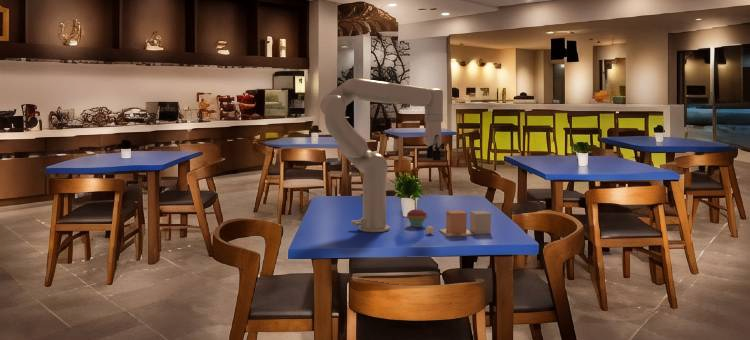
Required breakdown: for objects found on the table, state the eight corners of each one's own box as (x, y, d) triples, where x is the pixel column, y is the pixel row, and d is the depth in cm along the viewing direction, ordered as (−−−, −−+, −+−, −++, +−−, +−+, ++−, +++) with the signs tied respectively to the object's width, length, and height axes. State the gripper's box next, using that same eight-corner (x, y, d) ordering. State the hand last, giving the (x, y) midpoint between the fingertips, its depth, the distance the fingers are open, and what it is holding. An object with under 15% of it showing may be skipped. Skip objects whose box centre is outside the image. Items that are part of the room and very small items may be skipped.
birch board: (447, 236, 239) (447, 234, 239) (439, 230, 250) (439, 229, 250) (474, 235, 241) (474, 233, 241) (465, 229, 252) (465, 228, 252)
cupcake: (403, 224, 262) (403, 197, 261) (421, 223, 266) (421, 195, 264) (412, 228, 255) (412, 200, 253) (430, 227, 258) (430, 198, 257)
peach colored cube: (450, 233, 242) (451, 213, 241) (446, 230, 248) (446, 210, 247) (466, 232, 243) (466, 212, 242) (461, 229, 249) (461, 210, 248)
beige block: (475, 234, 244) (475, 214, 243) (470, 230, 250) (470, 211, 249) (490, 233, 245) (490, 213, 244) (484, 230, 251) (485, 210, 250)
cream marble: (426, 235, 242) (426, 227, 242) (424, 233, 245) (424, 225, 245) (434, 234, 242) (434, 226, 242) (432, 233, 246) (432, 225, 245)
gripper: (420, 118, 264) (419, 157, 266) (430, 119, 247) (430, 161, 249) (436, 118, 265) (436, 157, 267) (448, 118, 249) (448, 161, 250)
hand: (433, 159), depth 258 cm, fingers open, 9 cm apart
